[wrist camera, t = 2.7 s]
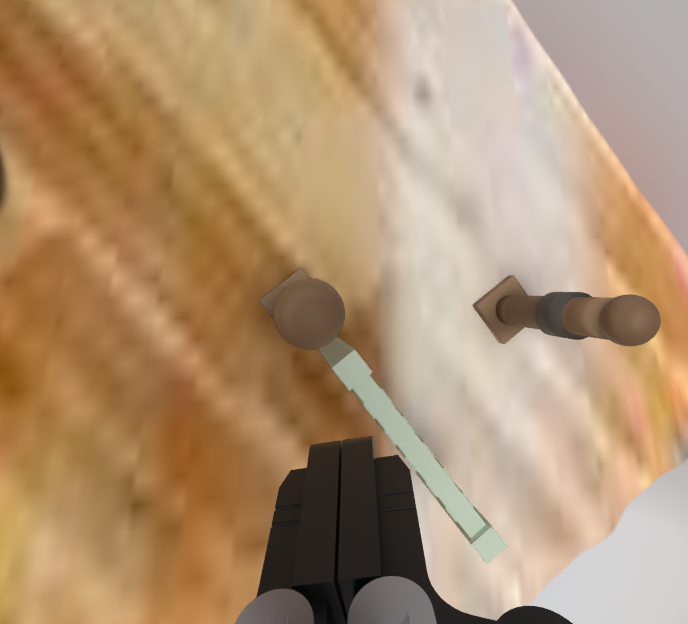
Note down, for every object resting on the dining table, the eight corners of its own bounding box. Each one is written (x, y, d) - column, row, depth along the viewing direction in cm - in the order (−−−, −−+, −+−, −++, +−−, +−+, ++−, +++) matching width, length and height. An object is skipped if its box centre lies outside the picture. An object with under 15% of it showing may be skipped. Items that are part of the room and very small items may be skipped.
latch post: (472, 305, 37) (601, 315, 22) (508, 275, 37) (658, 267, 23) (499, 342, 37) (642, 376, 23) (535, 313, 37) (697, 328, 23)
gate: (314, 345, 34) (331, 368, 24) (331, 331, 34) (354, 349, 24) (427, 487, 36) (486, 564, 26) (443, 474, 36) (507, 545, 26)
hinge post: (259, 300, 34) (247, 308, 19) (300, 268, 34) (320, 252, 19) (291, 340, 34) (304, 379, 20) (332, 309, 35) (374, 323, 20)
